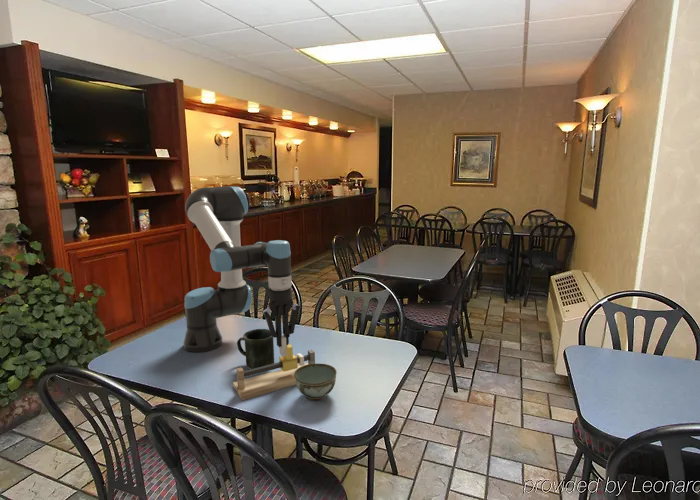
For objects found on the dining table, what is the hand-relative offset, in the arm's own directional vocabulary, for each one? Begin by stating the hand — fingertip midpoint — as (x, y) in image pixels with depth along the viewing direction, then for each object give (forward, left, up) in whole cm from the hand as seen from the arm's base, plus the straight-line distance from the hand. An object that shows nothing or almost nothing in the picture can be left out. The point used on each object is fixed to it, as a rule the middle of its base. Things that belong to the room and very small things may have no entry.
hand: (283, 354), depth 143 cm
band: (0, +6, -5) cm, 8 cm away
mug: (-17, -4, -10) cm, 20 cm away
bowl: (+15, +5, -10) cm, 18 cm away
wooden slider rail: (0, -2, -9) cm, 10 cm away
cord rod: (0, -2, -4) cm, 5 cm away
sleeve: (0, +2, -5) cm, 6 cm away
